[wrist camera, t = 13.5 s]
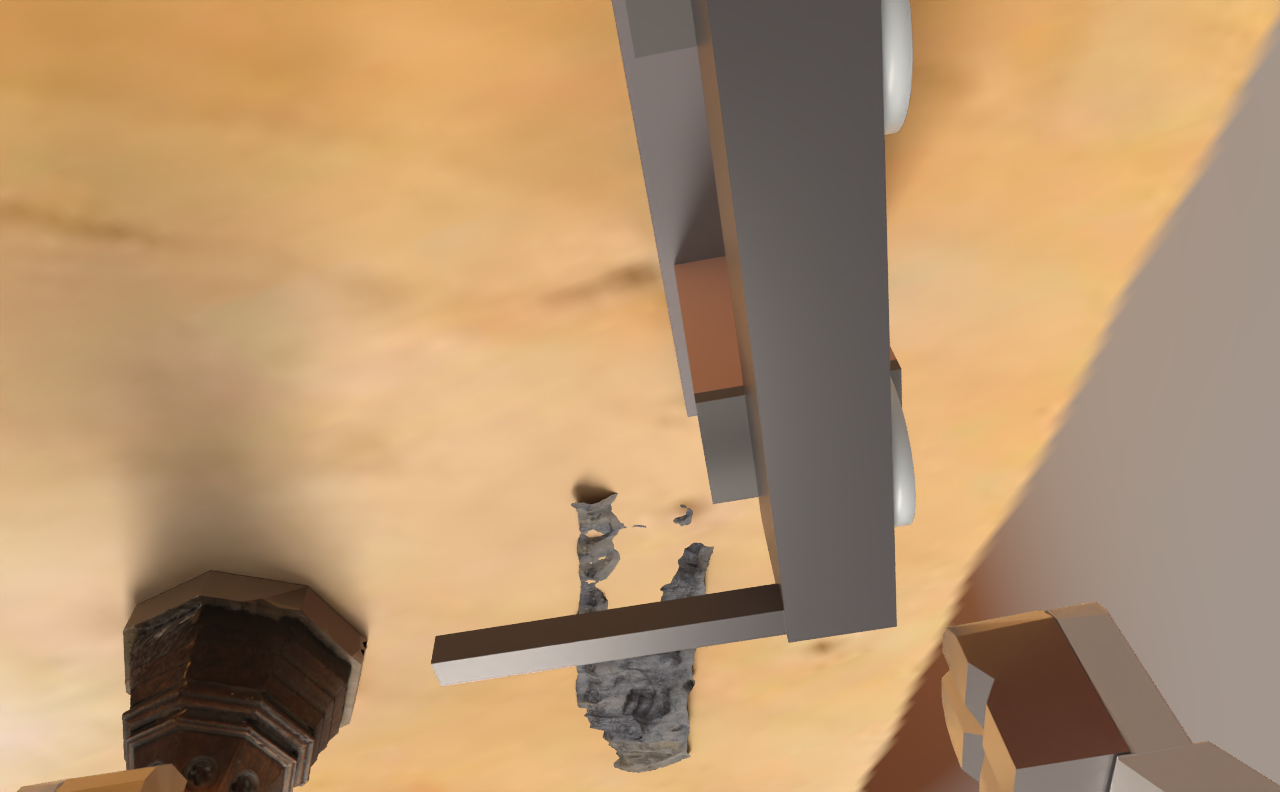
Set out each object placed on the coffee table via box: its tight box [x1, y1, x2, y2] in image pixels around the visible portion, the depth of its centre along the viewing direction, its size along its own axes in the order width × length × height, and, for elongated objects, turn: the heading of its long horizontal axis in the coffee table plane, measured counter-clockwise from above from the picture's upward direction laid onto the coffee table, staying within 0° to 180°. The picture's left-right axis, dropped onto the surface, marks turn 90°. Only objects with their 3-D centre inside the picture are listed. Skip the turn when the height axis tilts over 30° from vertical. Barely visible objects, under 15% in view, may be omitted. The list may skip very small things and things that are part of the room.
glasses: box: [431, 0, 916, 686], centre depth 22 cm, size 14×20×5 cm
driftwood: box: [571, 493, 714, 773], centre depth 48 cm, size 21×7×2 cm, turn 177°
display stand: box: [612, 0, 902, 504], centre depth 28 cm, size 7×24×10 cm, turn 10°
